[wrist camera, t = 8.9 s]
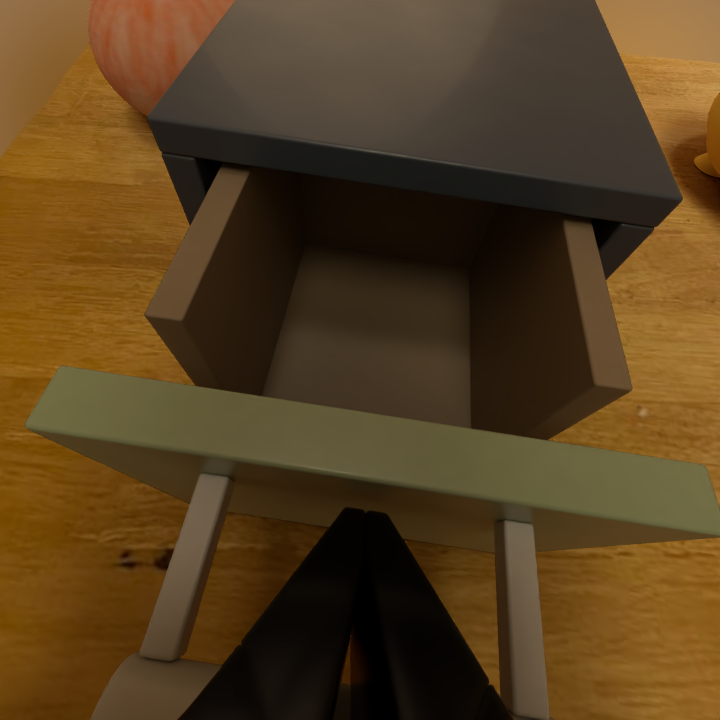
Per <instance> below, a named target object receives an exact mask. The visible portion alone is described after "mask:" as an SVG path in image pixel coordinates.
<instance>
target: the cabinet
mask: <svg viewBox="0 0 720 720" xmlns="http://www.w3.org/2000/svg"><path fill="white" fill-rule="evenodd" d="M147 119H148V122H149V125H150V127H151V130H152V132H153V135H154V137H155V140H156V142H157V145H158V147H159V149H160V151H161V152H162V158H163V160H164V162H165V165H166V167H167V170H168V172H169V175H170V177H171V180H172V182H173V185H174V187H175V190H176V192H177V195H178V197H179V199H180V202H181V204H182V207H183V209H184V212H185V214H186V217H187V219H188V222H189V224H190V225H191V223H192V221H193V220H194V218H195V216H196V214H197V212H198V210H199V208H200V206H201V204H202V202H203V200H204V198H205V196H206V195H207V193H208V191H209V189H210V187H211V185H212V183H213V181H214V179H215V177H216V175H217V173H218V171H219V170H220V168H221V166H222V164H223V162H229V163H235V164H242V165H248V166H255V167H261V168H268V169H274V170H281V171H288V172H294V173H301V174H307V175H314V176H320V177H327V178H333V179H340V180H346V181H353V182H360V183H366V184H373V185H379V186H386V187H392V188H399V189H405V190H412V191H418V192H425V193H432V194H438V195H445V196H451V197H458V198H464V199H471V200H477V201H484V202H490V203H497V204H503V205H510V206H517V207H523V208H530V209H536V210H543V211H549V212H556V213H562V214H569V215H575V216H582V217H589V218H590V219H591V223H592V227H593V231H594V235H595V239H596V243H597V247H598V251H599V255H600V259H601V263H602V267H603V271H604V275H605V279H606V280H607V279H608V278H609V277H610V275H611V274H612V273H613V272H614V271H615V270H616V269H617V268H618V267H619V266H620V265H621V264H622V263H623V262H624V261H625V260H626V259H627V258H628V257H629V256H630V255H631V254H632V253H633V252H634V251H635V250H636V248H637V247H638V246H639V245H640V244H641V243H642V242H643V241H644V240H645V239H646V238H647V237H648V236H649V235H650V234H651V233H652V232H653V230H654V227H657V226H658V225H659V224H660V223H661V222H662V221H663V220H664V219H665V218H666V217H667V216H668V215H669V214H670V213H671V212H672V211H673V210H674V209H675V208H676V207H677V206H678V205H679V204H680V202H681V201H682V199H683V196H682V194H681V192H680V190H679V187H678V185H677V183H676V181H675V178H674V176H673V174H672V172H671V170H670V167H669V165H668V163H667V161H666V158H665V156H664V154H663V152H662V149H661V147H660V145H659V143H658V140H657V138H656V136H655V134H654V131H653V129H652V127H651V125H650V123H649V120H648V118H647V116H646V114H645V111H644V109H643V107H642V105H641V102H640V100H639V98H638V96H637V93H636V91H635V89H634V87H633V84H632V82H631V80H630V78H629V75H628V73H627V71H626V69H625V67H624V64H623V62H622V60H621V58H620V55H619V53H618V51H617V49H616V46H615V44H614V42H613V40H612V37H611V35H610V33H609V31H608V29H607V26H606V24H605V22H604V20H603V17H602V15H601V13H600V11H599V9H598V6H597V4H596V2H595V0H235V2H234V3H233V4H232V6H231V7H230V8H229V10H228V11H227V12H226V13H225V15H224V16H223V17H222V19H221V20H220V21H219V23H218V24H217V25H216V27H215V28H214V29H213V30H212V32H211V33H210V34H209V36H208V37H207V38H206V40H205V41H204V42H203V44H202V45H201V46H200V48H199V49H198V50H197V51H196V53H195V54H194V55H193V57H192V58H191V59H190V61H189V62H188V63H187V65H186V66H185V67H184V68H183V70H182V71H181V72H180V74H179V75H178V76H177V78H176V79H175V80H174V82H173V83H172V84H171V86H170V87H169V88H168V89H167V91H166V92H165V93H164V95H163V96H162V97H161V99H160V100H159V101H158V103H157V104H156V105H155V107H154V108H153V109H152V110H151V112H150V113H149V114H148V116H147Z"/></svg>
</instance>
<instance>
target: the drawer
mask: <svg viewBox="0 0 720 720" xmlns="http://www.w3.org/2000/svg"><path fill="white" fill-rule="evenodd" d="M145 317H146V318H147V319H148V321H149V322H150V324H151V325H152V326H153V328H154V329H155V330H156V332H157V333H158V335H159V336H160V337H161V339H162V340H163V341H164V343H165V344H166V345H167V347H168V348H169V350H170V351H171V352H172V354H173V355H174V356H175V358H176V359H177V361H178V362H179V363H180V365H181V366H182V367H183V369H184V370H185V372H186V373H187V374H188V376H189V377H190V378H191V380H192V381H193V382H194V384H195V385H196V386H192V385H186V384H179V383H173V382H166V381H160V380H153V379H147V378H140V377H134V376H127V375H121V374H114V373H108V372H102V371H95V370H89V369H82V368H76V367H69V366H61V367H59V368H58V370H57V371H56V373H55V375H54V376H53V378H52V380H51V381H50V383H49V385H48V386H47V388H46V390H45V391H44V393H43V395H42V396H41V398H40V399H39V401H38V403H37V404H36V406H35V408H34V409H33V411H32V413H31V414H30V416H29V418H28V419H27V421H26V423H25V427H26V428H27V429H28V430H30V431H32V432H34V433H36V434H39V435H41V436H43V437H45V438H47V439H49V440H52V441H54V442H56V443H58V444H60V445H63V446H65V447H67V448H69V449H71V450H73V451H76V452H78V453H80V454H82V455H84V456H86V457H89V458H91V459H93V460H95V461H97V462H99V463H102V464H104V465H106V466H108V467H110V468H113V469H115V470H117V471H119V472H121V473H123V474H126V475H128V476H130V477H132V478H134V479H136V480H139V481H141V482H143V483H145V484H147V485H149V486H152V487H154V488H156V489H158V490H160V491H163V492H165V493H167V494H169V495H171V496H173V497H176V498H178V499H180V500H182V501H184V502H186V503H189V504H190V505H189V508H188V511H187V514H186V517H185V520H184V523H183V526H182V528H181V531H180V534H179V537H178V540H177V543H176V546H175V549H174V552H173V555H172V558H171V561H170V564H169V567H168V570H167V573H166V576H165V578H164V581H163V584H162V587H161V590H160V593H159V596H158V599H157V602H156V605H155V608H154V611H153V614H152V617H151V620H150V623H149V625H148V628H147V631H146V634H145V637H144V640H143V643H142V646H141V649H140V652H136V653H132V654H131V655H129V656H128V657H127V658H126V659H125V660H124V661H123V662H122V663H121V665H120V666H119V667H118V669H117V670H116V671H115V673H114V674H113V676H112V677H111V679H110V681H109V682H108V684H107V686H106V688H105V690H104V691H103V693H102V695H101V697H100V699H99V701H98V704H97V706H96V708H95V710H94V713H93V715H92V718H91V720H177V719H178V718H179V717H180V716H181V715H182V714H183V713H184V712H185V710H186V709H187V708H188V707H189V706H190V705H191V703H192V702H193V701H194V700H195V699H196V697H197V696H198V695H199V694H200V692H201V691H202V690H203V689H204V687H205V686H206V685H207V684H208V683H209V681H210V680H211V679H212V678H213V676H214V675H215V674H216V673H217V672H218V670H219V669H220V668H221V666H222V665H219V664H213V663H207V662H200V661H194V660H187V659H181V658H179V657H181V656H183V655H184V654H185V652H186V651H187V647H188V644H189V640H190V637H191V634H192V630H193V627H194V623H195V620H196V616H197V613H198V610H199V606H200V603H201V599H202V596H203V592H204V589H205V585H206V582H207V579H208V575H209V572H210V568H211V565H212V561H213V558H214V555H215V551H216V548H217V544H218V541H219V537H220V534H221V530H222V527H223V524H224V520H225V517H226V513H227V512H234V513H240V514H246V515H253V516H259V517H266V518H272V519H279V520H285V521H292V522H298V523H304V524H311V525H317V526H324V527H330V526H331V524H332V523H333V522H334V520H335V519H336V518H337V516H338V515H339V514H340V513H341V511H342V510H343V509H344V508H345V507H352V508H358V509H363V510H364V511H365V513H366V512H367V511H368V510H371V511H378V512H384V513H386V514H388V516H389V517H390V519H391V520H392V522H393V524H394V525H395V527H396V528H397V530H398V532H399V533H400V535H401V537H402V538H403V539H407V540H414V541H420V542H427V543H433V544H440V545H446V546H453V547H459V548H465V549H472V550H478V551H485V552H491V553H495V566H496V592H497V618H498V644H499V670H500V696H501V700H502V701H503V703H504V704H505V706H506V708H507V709H508V711H509V713H510V714H511V716H512V717H513V719H514V720H554V719H553V718H551V717H549V716H550V714H549V703H548V691H547V679H546V668H545V656H544V645H543V633H542V621H541V610H540V598H539V587H538V575H537V564H536V552H540V551H553V550H566V549H579V548H591V547H604V546H617V545H630V544H642V543H655V542H668V541H681V540H693V539H706V538H719V537H720V508H719V505H718V502H717V498H716V495H715V492H714V489H713V486H712V483H711V480H710V477H709V473H708V470H707V468H706V467H705V466H704V465H702V464H697V463H691V462H684V461H678V460H671V459H665V458H658V457H652V456H645V455H639V454H632V453H626V452H619V451H613V450H607V449H600V448H594V447H587V446H581V445H574V444H568V443H561V442H555V441H548V439H550V438H552V437H553V436H555V435H557V434H559V433H560V432H562V431H564V430H565V429H567V428H569V427H571V426H572V425H574V424H576V423H577V422H579V421H581V420H582V419H584V418H586V417H588V416H589V415H591V414H593V413H594V412H596V411H598V410H600V409H601V408H603V407H605V406H606V405H608V404H610V403H611V402H613V401H615V400H617V399H618V398H620V397H622V396H623V395H625V394H627V393H629V392H630V391H632V384H631V380H630V376H629V372H628V368H627V364H626V360H625V356H624V352H623V348H622V344H621V340H620V336H619V332H618V327H617V323H616V319H615V315H614V311H613V307H612V303H611V299H610V295H609V291H608V287H607V283H606V279H605V275H604V271H603V267H602V263H601V259H600V255H599V251H598V247H597V243H596V239H595V235H594V231H593V227H592V223H591V219H590V218H589V217H582V216H575V215H569V214H562V213H556V212H549V211H543V210H536V209H530V208H523V207H517V206H510V205H503V204H497V203H490V202H484V201H477V200H471V199H464V198H458V197H451V196H445V195H438V194H432V193H425V192H418V191H412V190H405V189H399V188H392V187H386V186H379V185H373V184H366V183H360V182H353V181H346V180H340V179H333V178H327V177H320V176H314V175H307V174H301V173H294V172H288V171H281V170H274V169H268V168H261V167H255V166H248V165H242V164H235V163H229V162H223V164H222V166H221V168H220V170H219V171H218V173H217V175H216V177H215V179H214V181H213V183H212V185H211V187H210V189H209V191H208V193H207V195H206V196H205V198H204V200H203V202H202V204H201V206H200V208H199V210H198V212H197V214H196V216H195V218H194V220H193V221H192V223H191V225H190V227H189V229H188V231H187V233H186V235H185V237H184V239H183V241H182V243H181V245H180V246H179V248H178V250H177V252H176V254H175V256H174V258H173V260H172V262H171V264H170V266H169V268H168V269H167V271H166V273H165V275H164V277H163V279H162V281H161V283H160V285H159V287H158V289H157V291H156V293H155V294H154V296H153V298H152V300H151V302H150V304H149V306H148V308H147V310H146V312H145ZM333 720H351V685H347V684H341V685H340V690H339V695H338V700H337V704H336V709H335V714H334V719H333Z"/></svg>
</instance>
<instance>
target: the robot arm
mask: <svg viewBox="0 0 720 720" xmlns="http://www.w3.org/2000/svg"><path fill="white" fill-rule="evenodd" d="M350 635H351V641H350V679H351V720H514V719H513V717H512V716H511V714H510V713H509V711H508V709H507V708H506V706H505V704H504V703H503V701H502V700H501V698H500V696H499V695H498V693H497V691H496V690H495V688H494V686H493V685H488V684H489V679H488V677H487V675H486V674H485V672H484V670H483V669H482V667H481V666H480V664H479V662H478V661H477V659H476V657H475V656H474V654H473V653H472V651H471V649H470V648H469V646H468V644H467V643H466V641H465V639H464V638H463V636H462V635H461V633H460V631H459V630H458V628H457V626H456V625H455V623H454V622H453V620H452V618H451V617H450V615H449V613H448V612H447V610H446V608H445V607H444V605H443V604H442V602H441V600H440V599H439V597H438V595H437V594H436V592H435V591H434V589H433V587H432V586H431V584H430V582H429V581H428V579H427V577H426V576H425V574H424V573H423V571H422V569H421V568H420V566H419V564H418V563H417V561H416V560H415V558H414V556H413V555H412V553H411V551H410V550H409V548H408V546H407V545H406V543H405V542H404V540H403V538H402V537H401V535H400V533H399V532H398V530H397V528H396V527H395V525H394V524H393V522H392V520H391V519H390V517H389V516H388V514H386V513H384V512H378V511H371V510H368V511H367V512H366V513H365V511H364V510H363V509H358V508H352V507H345V508H344V509H343V510H342V511H341V513H340V514H339V515H338V516H337V518H336V519H335V520H334V522H333V523H332V524H331V526H330V527H329V528H328V529H327V531H326V532H325V533H324V535H323V536H322V537H321V538H320V540H319V541H318V542H317V544H316V545H315V546H314V548H313V549H312V550H311V551H310V553H309V554H308V555H307V557H306V558H305V559H304V561H303V562H302V563H301V564H300V566H299V567H298V568H297V570H296V571H295V572H294V574H293V575H292V576H291V577H290V579H289V580H288V581H287V583H286V584H285V585H284V586H283V588H282V589H281V590H280V592H279V593H278V594H277V596H276V597H275V598H274V599H273V601H272V602H271V603H270V605H269V606H268V607H267V609H266V610H265V611H264V612H263V614H262V615H261V616H260V618H259V619H258V620H257V622H256V623H255V624H254V625H253V627H252V628H251V629H250V631H249V632H248V633H247V634H246V636H245V637H244V638H243V640H242V641H241V645H239V646H237V647H236V648H235V650H234V651H233V652H232V654H231V655H230V656H229V657H228V659H227V660H226V661H225V663H224V664H223V665H222V666H221V668H220V669H219V670H218V672H217V673H216V674H215V675H214V676H213V678H212V679H211V680H210V681H209V683H208V684H207V685H206V686H205V687H204V689H203V690H202V691H201V692H200V694H199V695H198V696H197V697H196V699H195V700H194V701H193V702H192V703H191V705H190V706H189V707H188V708H187V709H186V710H185V712H184V713H183V714H182V715H181V716H180V717H179V718H178V719H177V720H333V719H334V714H335V709H336V704H337V700H338V695H339V690H340V685H341V680H342V676H343V671H344V666H345V661H346V656H347V651H348V646H349V640H350Z"/></svg>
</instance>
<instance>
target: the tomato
mask: <svg viewBox="0 0 720 720" xmlns="http://www.w3.org/2000/svg"><path fill="white" fill-rule="evenodd" d="M234 2H235V0H90V4H89V9H88V32H89V39H90V44H91V48H92V51H93V54H94V57H95V59H96V62H97V64H98V66H99V69H100V71H101V72H102V74H103V75H104V77H105V79H106V80H107V81H108V82H109V84H110V85H111V86H112V87H113V89H114V90H115V91H116V92H117V93H118V94H119V95H120V96H121V97H122V98H123V99H124V100H125V101H126V102H128V103H129V104H130V105H131V106H132V107H134V108H135V109H136V110H138V111H139V112H141V113H142V114H144V115H145V116H148V114H149V113H150V112H151V110H152V109H153V108H154V107H155V105H156V104H157V103H158V101H159V100H160V99H161V97H162V96H163V95H164V93H165V92H166V91H167V89H168V88H169V87H170V86H171V84H172V83H173V82H174V80H175V79H176V78H177V76H178V75H179V74H180V72H181V71H182V70H183V68H184V67H185V66H186V65H187V63H188V62H189V61H190V59H191V58H192V57H193V55H194V54H195V53H196V51H197V50H198V49H199V48H200V46H201V45H202V44H203V42H204V41H205V40H206V38H207V37H208V36H209V34H210V33H211V32H212V30H213V29H214V28H215V27H216V25H217V24H218V23H219V21H220V20H221V19H222V17H223V16H224V15H225V13H226V12H227V11H228V10H229V8H230V7H231V6H232V4H233V3H234Z"/></svg>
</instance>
